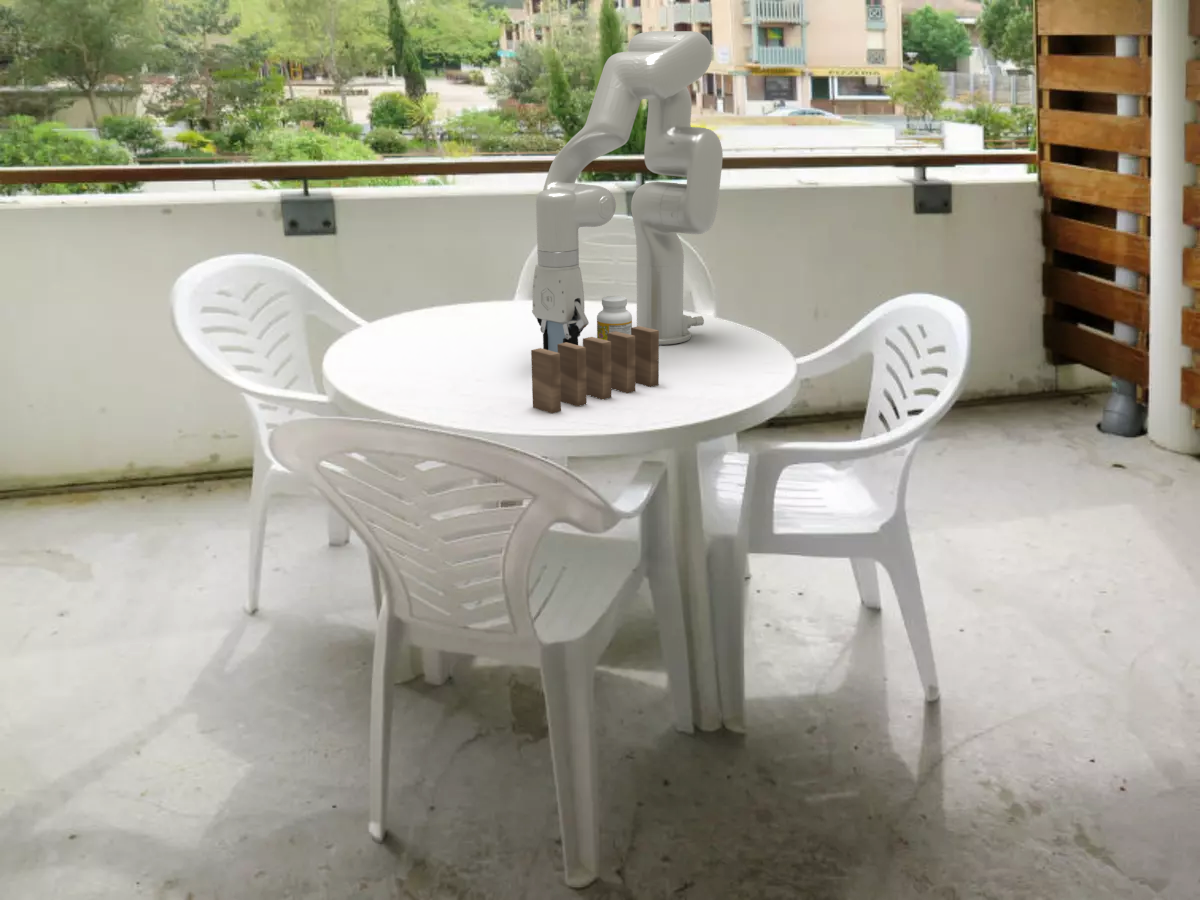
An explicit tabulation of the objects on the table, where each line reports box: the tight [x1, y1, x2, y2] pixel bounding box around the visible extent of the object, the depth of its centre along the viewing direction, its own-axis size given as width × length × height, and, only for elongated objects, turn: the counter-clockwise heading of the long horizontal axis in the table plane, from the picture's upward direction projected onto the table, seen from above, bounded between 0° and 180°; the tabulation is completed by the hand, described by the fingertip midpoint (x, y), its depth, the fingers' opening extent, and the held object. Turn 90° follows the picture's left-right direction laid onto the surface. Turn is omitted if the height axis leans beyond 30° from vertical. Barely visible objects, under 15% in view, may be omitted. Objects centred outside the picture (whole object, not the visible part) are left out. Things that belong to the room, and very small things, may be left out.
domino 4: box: [582, 336, 612, 400], centre depth 225 cm, size 2×5×10 cm, turn 42°
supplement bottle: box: [596, 295, 633, 340], centre depth 245 cm, size 7×7×13 cm
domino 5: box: [607, 331, 636, 394], centre depth 229 cm, size 2×5×10 cm, turn 42°
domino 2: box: [547, 319, 573, 353], centre depth 241 cm, size 2×5×10 cm, turn 42°
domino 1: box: [530, 347, 562, 414], centre depth 217 cm, size 2×5×10 cm, turn 42°
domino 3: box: [557, 342, 588, 407], centre depth 221 cm, size 2×5×10 cm, turn 42°
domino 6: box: [631, 325, 660, 388], centre depth 232 cm, size 2×5×10 cm, turn 42°
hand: (560, 354), depth 242 cm, fingers closed on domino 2, 4 cm apart
